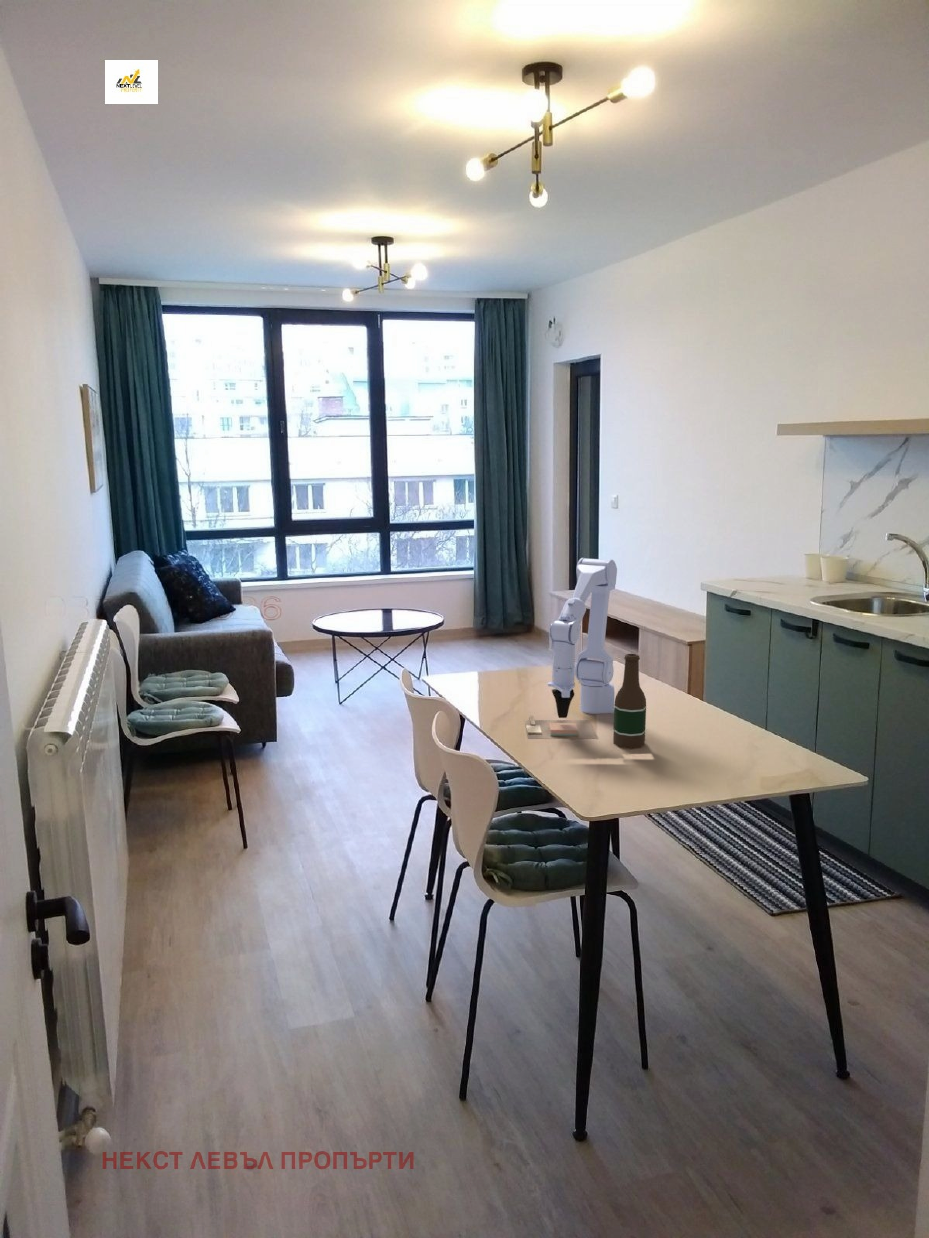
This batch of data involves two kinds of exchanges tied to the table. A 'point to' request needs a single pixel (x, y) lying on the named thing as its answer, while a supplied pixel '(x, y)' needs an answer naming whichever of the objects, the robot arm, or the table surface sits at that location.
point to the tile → (563, 729)
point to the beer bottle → (630, 708)
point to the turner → (533, 727)
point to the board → (584, 732)
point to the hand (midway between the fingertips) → (562, 717)
